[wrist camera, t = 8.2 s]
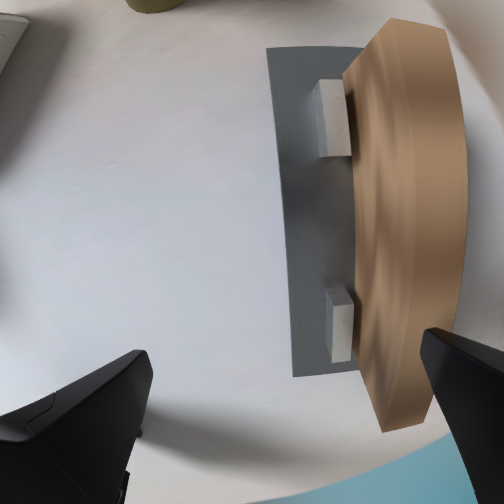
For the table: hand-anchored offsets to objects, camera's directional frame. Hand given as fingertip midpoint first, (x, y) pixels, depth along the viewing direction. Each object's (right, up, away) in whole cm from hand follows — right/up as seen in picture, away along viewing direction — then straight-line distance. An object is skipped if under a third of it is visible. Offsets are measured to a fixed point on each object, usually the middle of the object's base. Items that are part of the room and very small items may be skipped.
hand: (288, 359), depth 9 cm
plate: (+6, +5, +9) cm, 13 cm away
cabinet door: (+6, +5, +8) cm, 12 cm away
